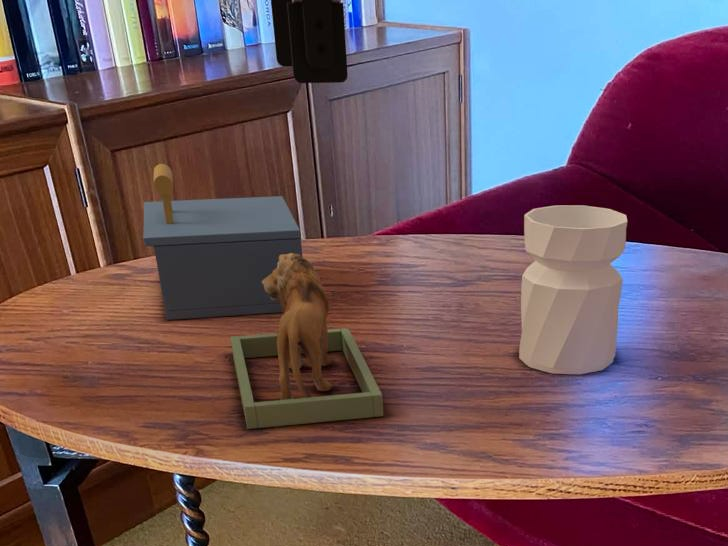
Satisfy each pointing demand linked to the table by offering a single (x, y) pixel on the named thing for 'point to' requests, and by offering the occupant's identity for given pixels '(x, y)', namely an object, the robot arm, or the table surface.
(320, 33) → the robot arm
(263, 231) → the lid
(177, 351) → the table surface
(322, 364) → the lion figurine
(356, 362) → the tray
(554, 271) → the vase
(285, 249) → the chest
